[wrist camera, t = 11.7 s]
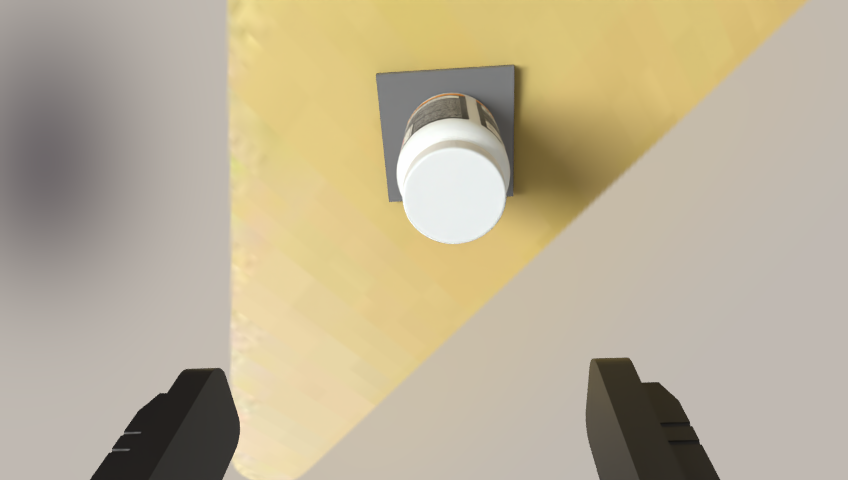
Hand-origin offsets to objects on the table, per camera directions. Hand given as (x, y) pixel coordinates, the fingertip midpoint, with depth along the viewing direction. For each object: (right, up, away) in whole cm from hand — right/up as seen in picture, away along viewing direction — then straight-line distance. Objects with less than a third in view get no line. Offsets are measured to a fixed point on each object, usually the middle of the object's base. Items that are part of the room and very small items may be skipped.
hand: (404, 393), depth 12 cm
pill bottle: (+2, +10, +21) cm, 23 cm away
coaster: (+2, +10, +21) cm, 24 cm away
